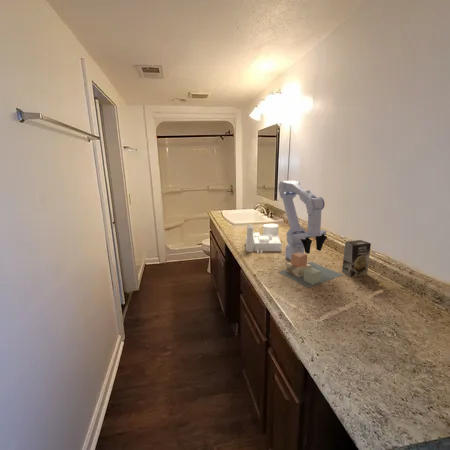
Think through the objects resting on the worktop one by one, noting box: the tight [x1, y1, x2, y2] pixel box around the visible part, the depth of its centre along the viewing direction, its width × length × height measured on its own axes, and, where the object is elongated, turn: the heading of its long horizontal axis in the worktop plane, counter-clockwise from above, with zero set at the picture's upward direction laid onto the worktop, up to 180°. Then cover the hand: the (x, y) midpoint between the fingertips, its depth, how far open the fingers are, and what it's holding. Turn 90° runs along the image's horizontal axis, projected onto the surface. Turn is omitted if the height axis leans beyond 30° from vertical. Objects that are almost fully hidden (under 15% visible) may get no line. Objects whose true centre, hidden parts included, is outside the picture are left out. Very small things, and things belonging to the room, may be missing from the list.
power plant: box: [245, 223, 282, 254], centre depth 170 cm, size 35×24×15 cm
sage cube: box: [304, 268, 321, 285], centre depth 116 cm, size 5×5×5 cm
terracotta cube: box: [290, 252, 308, 267], centre depth 125 cm, size 5×5×5 cm
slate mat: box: [278, 261, 344, 289], centre depth 125 cm, size 19×23×1 cm
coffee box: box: [341, 239, 372, 278], centre depth 122 cm, size 9×6×16 cm
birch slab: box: [285, 261, 311, 277], centre depth 126 cm, size 8×8×4 cm
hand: (313, 251), depth 126 cm, fingers open, 7 cm apart
